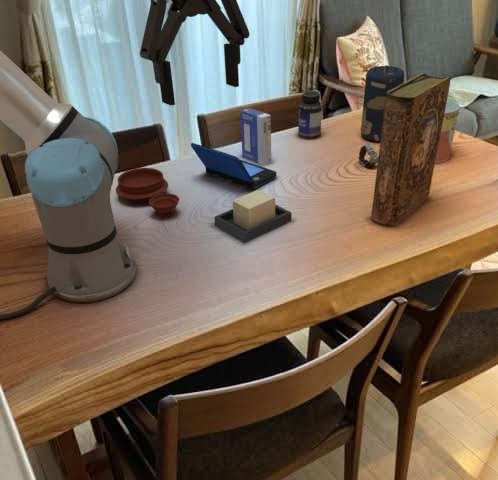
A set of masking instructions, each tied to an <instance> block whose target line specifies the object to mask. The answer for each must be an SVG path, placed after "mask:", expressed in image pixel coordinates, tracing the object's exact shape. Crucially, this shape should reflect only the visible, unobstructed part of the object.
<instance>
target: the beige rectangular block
mask: <svg viewBox="0 0 498 480" xmlns="http://www.w3.org/2000/svg"><path fill="white" fill-rule="evenodd" d="M275 205H276V197H275V196H274V195H271V194H268V193H267V192H264V191H263V190H260V189H256V190H254V191H251V192H250V193H247V194H245V195H243V196H240V197H238V198H235V199H232V209H233V218H234V223H235V224H237V225H239V226H240V227H242V228H244V229H246V230H249V229H251V228H253V227H255V226H257V225H259V224H262V223H264V222H266V221H268V220H270V219H272V218H275Z"/></svg>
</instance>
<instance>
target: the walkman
mask: <svg viewBox="0 0 498 480" xmlns="http://www.w3.org/2000/svg"><path fill="white" fill-rule="evenodd" d="M239 112H240V132H241V133H240V134H241V135H240V136H241V155H242V158H244V159H246V160H248V161H252V162H254V163H257V164H259V165H260V166H265V165H269V164H270V163H272V129H271V128H272V126H271V125H272V124H271V123H272V122H271V118H272V117H271V114H269V113H267V112H263V111H259V110H256V109H254V108H251V107H247V108H244V109H241V110H240V111H239Z"/></svg>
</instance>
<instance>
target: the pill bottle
mask: <svg viewBox="0 0 498 480" xmlns="http://www.w3.org/2000/svg"><path fill="white" fill-rule="evenodd" d="M320 98H321V93H320V92H319V91H314V90H306V91H303V92H302V93H301V100H302V101H301V102H300V103H299V104H298V124H297V125H298V126H297V127H298V128H297V135H298V137H300V138H302V139H306V140H313V139H317V138H319V137H320V136H321V133H322V132H321V131H322V114H323V113H322V112H323V105H322V103H321V102H320V100H321V99H320Z"/></svg>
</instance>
